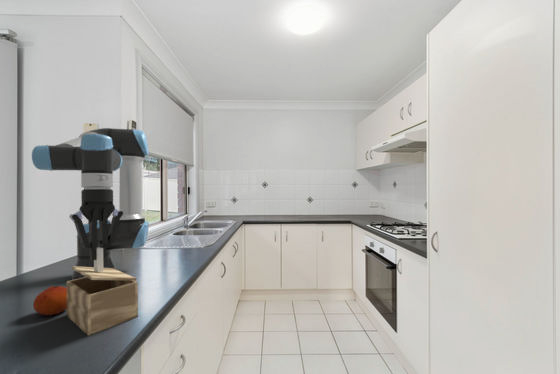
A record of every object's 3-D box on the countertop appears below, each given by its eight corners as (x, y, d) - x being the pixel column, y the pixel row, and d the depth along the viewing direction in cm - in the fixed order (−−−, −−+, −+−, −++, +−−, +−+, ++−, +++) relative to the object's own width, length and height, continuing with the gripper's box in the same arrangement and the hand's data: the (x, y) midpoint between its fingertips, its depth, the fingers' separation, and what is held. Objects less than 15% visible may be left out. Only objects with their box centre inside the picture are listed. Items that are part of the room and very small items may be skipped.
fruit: (80, 307, 82) (80, 281, 82) (49, 321, 73) (49, 292, 73) (58, 305, 84) (58, 280, 84) (26, 318, 75) (25, 290, 75)
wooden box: (66, 315, 76) (66, 281, 77) (112, 301, 86) (112, 270, 86) (88, 335, 66) (87, 295, 66) (137, 316, 75) (137, 281, 75)
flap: (71, 268, 77) (71, 266, 77) (111, 270, 86) (112, 268, 86) (91, 279, 67) (92, 277, 67) (135, 280, 75) (136, 278, 75)
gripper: (74, 188, 68) (75, 279, 68) (127, 188, 78) (128, 267, 78) (65, 189, 73) (66, 274, 72) (116, 188, 83) (117, 263, 83)
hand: (98, 270), depth 75 cm, fingers closed
